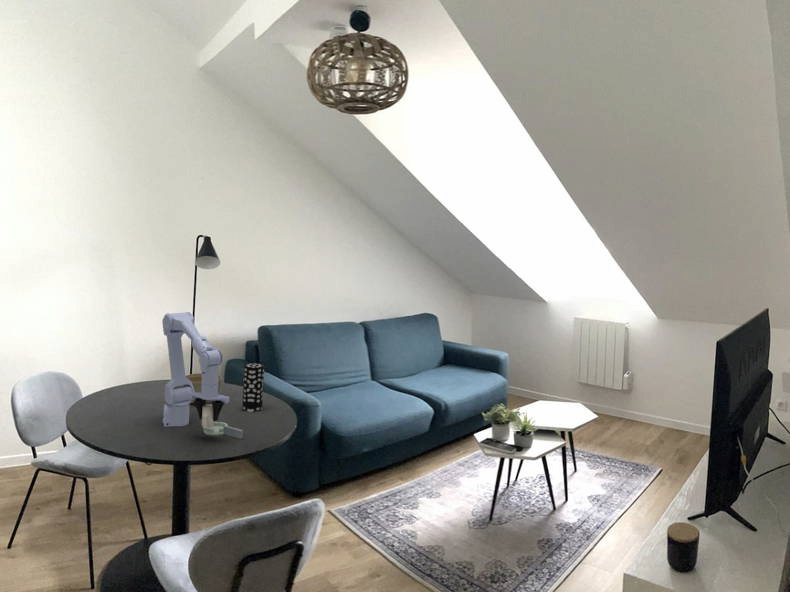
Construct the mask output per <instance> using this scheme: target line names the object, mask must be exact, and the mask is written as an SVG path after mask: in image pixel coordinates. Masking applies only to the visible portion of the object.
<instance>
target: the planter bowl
mask: <svg viewBox="0 0 790 592" xmlns="http://www.w3.org/2000/svg"><path fill="white" fill-rule="evenodd" d="M185 376H186V378H187V379H189V380H190V381H192V385H193V388H194V390H195V392H201V389H202V372H200V373H198V372H197V373H191V374H187V375H185ZM222 381H223V378H222V376H220V375H219V377H218V393H219V391H220V390H221V385H222ZM194 401H195V398H194V399H193V400H192V401H191V403H190V404H193V405H194ZM212 403H214V401H210V400H206V404H212ZM206 404H205V405H206Z"/></svg>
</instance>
